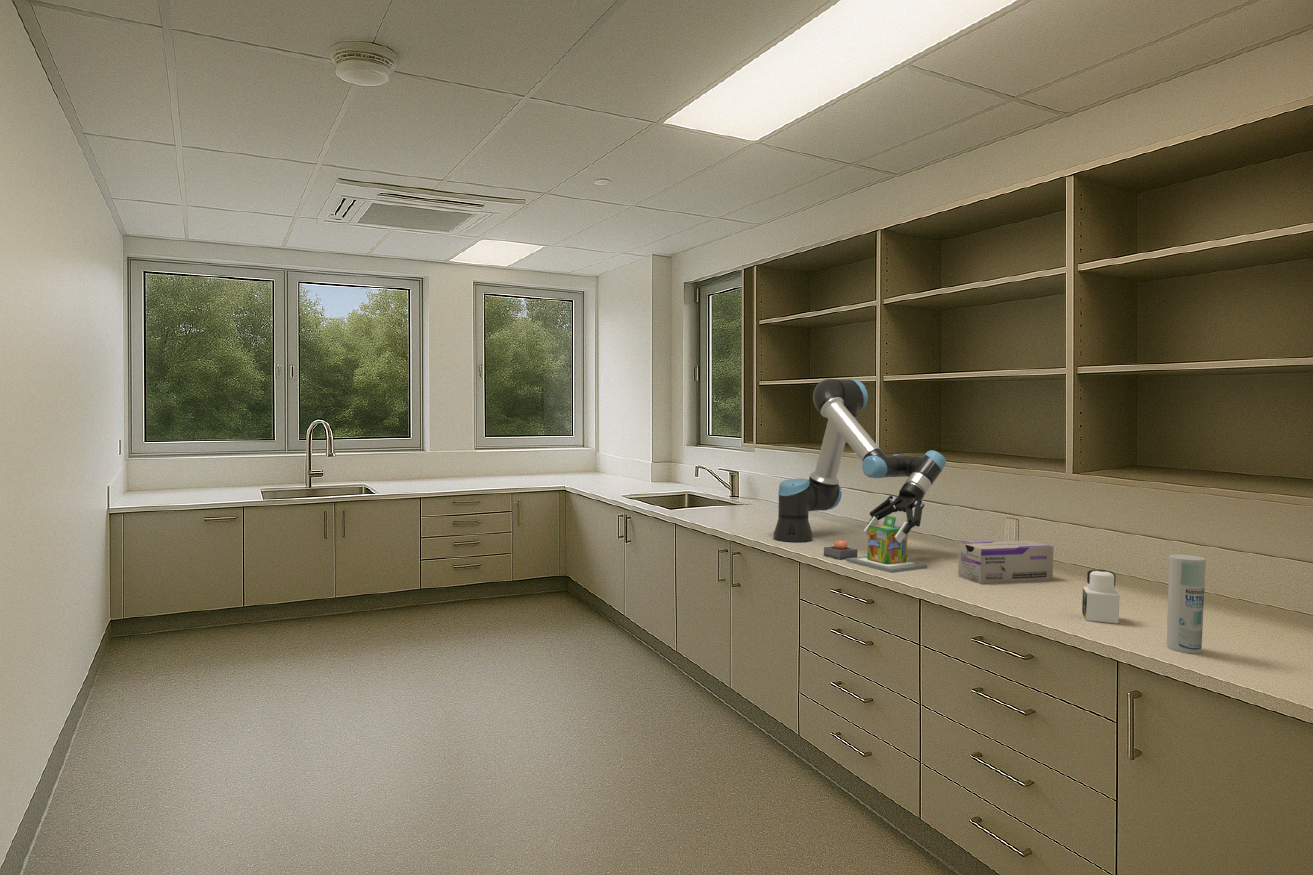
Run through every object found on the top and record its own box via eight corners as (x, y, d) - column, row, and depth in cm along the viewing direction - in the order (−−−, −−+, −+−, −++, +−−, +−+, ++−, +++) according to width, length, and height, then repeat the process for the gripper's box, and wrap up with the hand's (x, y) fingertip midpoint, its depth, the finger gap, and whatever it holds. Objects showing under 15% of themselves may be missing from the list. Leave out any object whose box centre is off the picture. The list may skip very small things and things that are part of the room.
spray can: (1182, 654, 165) (1185, 560, 164) (1158, 644, 172) (1162, 554, 171) (1209, 653, 166) (1213, 559, 165) (1185, 643, 172) (1188, 554, 172)
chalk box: (866, 559, 259) (867, 515, 259) (887, 557, 263) (888, 513, 263) (886, 564, 251) (887, 519, 250) (907, 562, 255) (908, 517, 254)
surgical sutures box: (1027, 574, 246) (1028, 540, 246) (1052, 581, 236) (1053, 546, 236) (958, 577, 240) (959, 542, 240) (980, 584, 230) (981, 548, 230)
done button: (831, 549, 271) (831, 540, 271) (840, 548, 273) (841, 539, 273) (840, 551, 267) (840, 542, 267) (849, 550, 269) (850, 541, 269)
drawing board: (846, 561, 262) (846, 557, 262) (880, 557, 270) (880, 553, 270) (891, 572, 245) (891, 568, 245) (926, 567, 253) (926, 564, 253)
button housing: (823, 555, 272) (823, 547, 271) (840, 553, 276) (841, 545, 275) (839, 559, 265) (840, 550, 264) (857, 557, 269) (857, 549, 268)
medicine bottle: (1081, 613, 197) (1083, 566, 197) (1114, 617, 195) (1115, 569, 194) (1085, 620, 191) (1086, 572, 190) (1118, 624, 188) (1120, 574, 188)
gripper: (950, 500, 253) (916, 550, 247) (891, 493, 275) (859, 538, 268) (939, 485, 251) (905, 534, 244) (881, 478, 272) (848, 524, 265)
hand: (881, 536), depth 256 cm, fingers open, 13 cm apart
